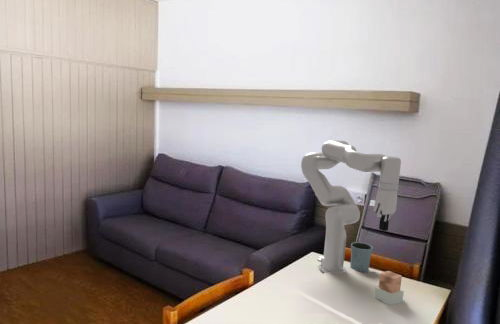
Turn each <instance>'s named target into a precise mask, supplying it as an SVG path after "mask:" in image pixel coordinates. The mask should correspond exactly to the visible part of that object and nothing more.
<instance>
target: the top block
mask: <svg viewBox="0 0 500 324" xmlns="http://www.w3.org/2000/svg"><path fill="white" fill-rule="evenodd" d="M402 279H403V276H402V275H401V274H398V273H396V272H393V271H391V270H390V271H389V270H386V271H384V272H381V273H380V275H379V281H378V282H379V283H378V286H379V288H380V289H383V290H385V291H387V292H390V293H395V292H397V291H399V290H400V289H401V287H402Z"/></svg>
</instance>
